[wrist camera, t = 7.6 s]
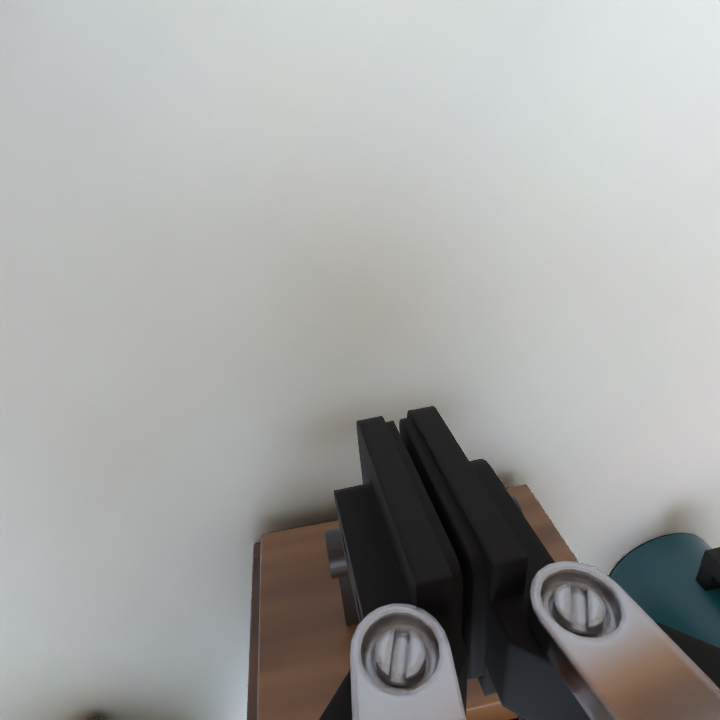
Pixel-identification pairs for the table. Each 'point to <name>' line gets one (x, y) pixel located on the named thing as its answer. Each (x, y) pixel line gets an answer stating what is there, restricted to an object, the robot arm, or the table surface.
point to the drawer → (336, 618)
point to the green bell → (94, 718)
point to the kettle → (676, 584)
